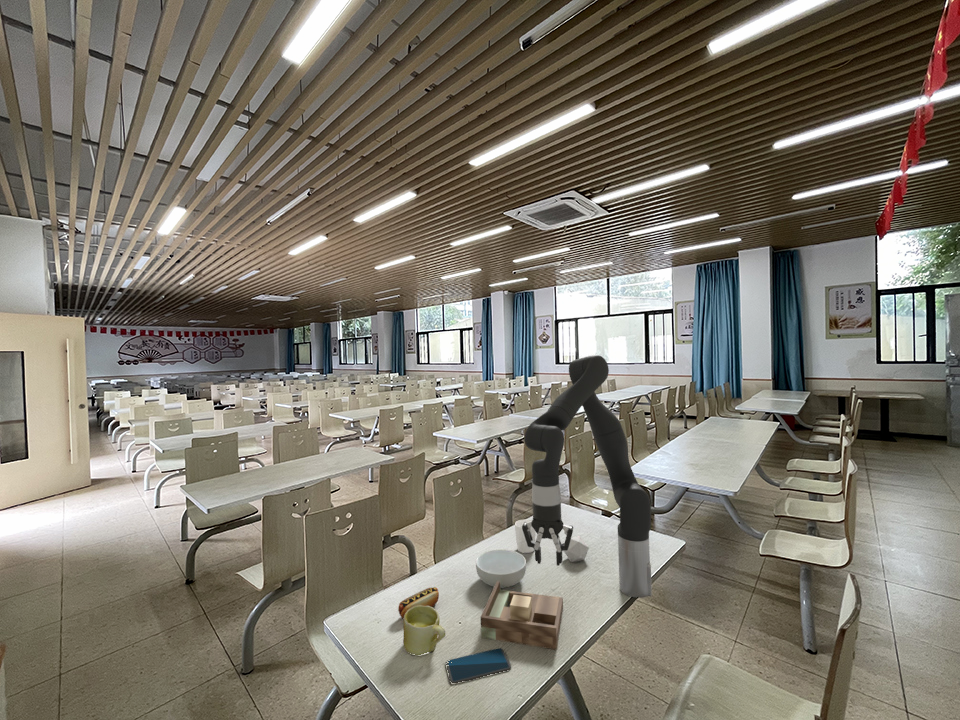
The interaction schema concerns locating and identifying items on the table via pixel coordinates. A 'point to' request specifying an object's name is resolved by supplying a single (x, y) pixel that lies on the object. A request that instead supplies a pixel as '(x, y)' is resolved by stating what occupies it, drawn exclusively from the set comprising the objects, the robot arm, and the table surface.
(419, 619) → the mug
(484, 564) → the cereal bowl
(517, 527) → the white cup
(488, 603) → the box
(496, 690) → the table surface
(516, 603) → the maple block
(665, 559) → the table surface
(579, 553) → the die
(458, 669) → the smartphone
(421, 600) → the hot dog
